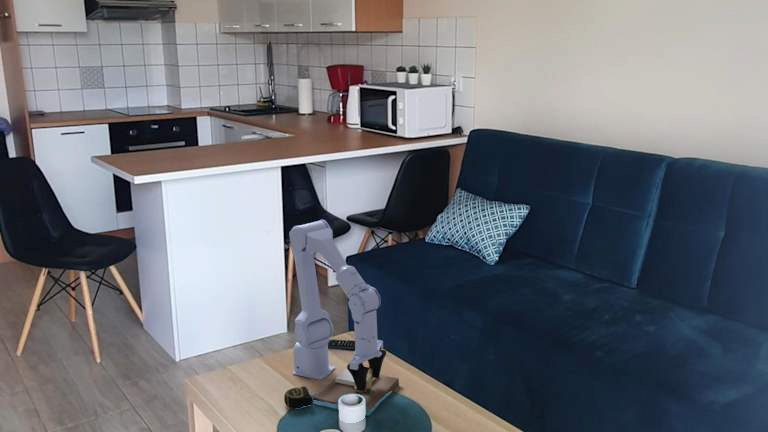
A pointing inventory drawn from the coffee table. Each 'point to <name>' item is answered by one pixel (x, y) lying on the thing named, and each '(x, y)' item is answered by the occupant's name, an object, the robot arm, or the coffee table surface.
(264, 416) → the coffee table surface
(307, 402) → the tape measure
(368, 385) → the t-key
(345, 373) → the lid
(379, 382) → the lock board
